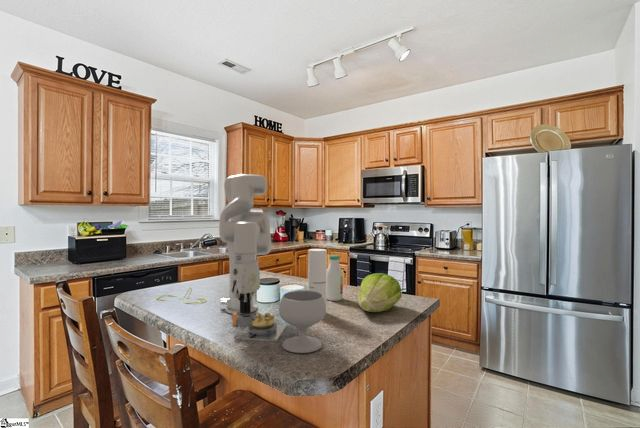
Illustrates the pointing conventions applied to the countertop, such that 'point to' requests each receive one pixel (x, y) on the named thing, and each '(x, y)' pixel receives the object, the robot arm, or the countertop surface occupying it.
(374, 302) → the lettuce
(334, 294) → the milk bottle
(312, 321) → the chalice
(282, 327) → the cap plate
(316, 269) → the cylindrical container
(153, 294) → the countertop surface
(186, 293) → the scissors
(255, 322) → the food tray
